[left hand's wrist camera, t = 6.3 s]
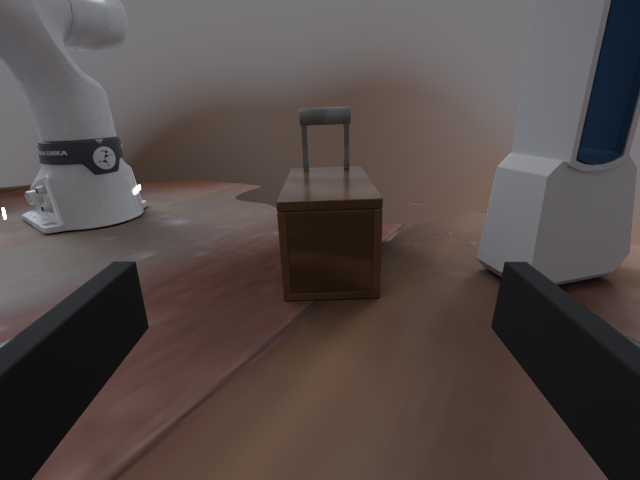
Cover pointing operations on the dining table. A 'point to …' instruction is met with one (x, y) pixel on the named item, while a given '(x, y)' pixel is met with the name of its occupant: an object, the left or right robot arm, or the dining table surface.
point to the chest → (330, 253)
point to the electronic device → (571, 145)
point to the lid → (327, 173)
